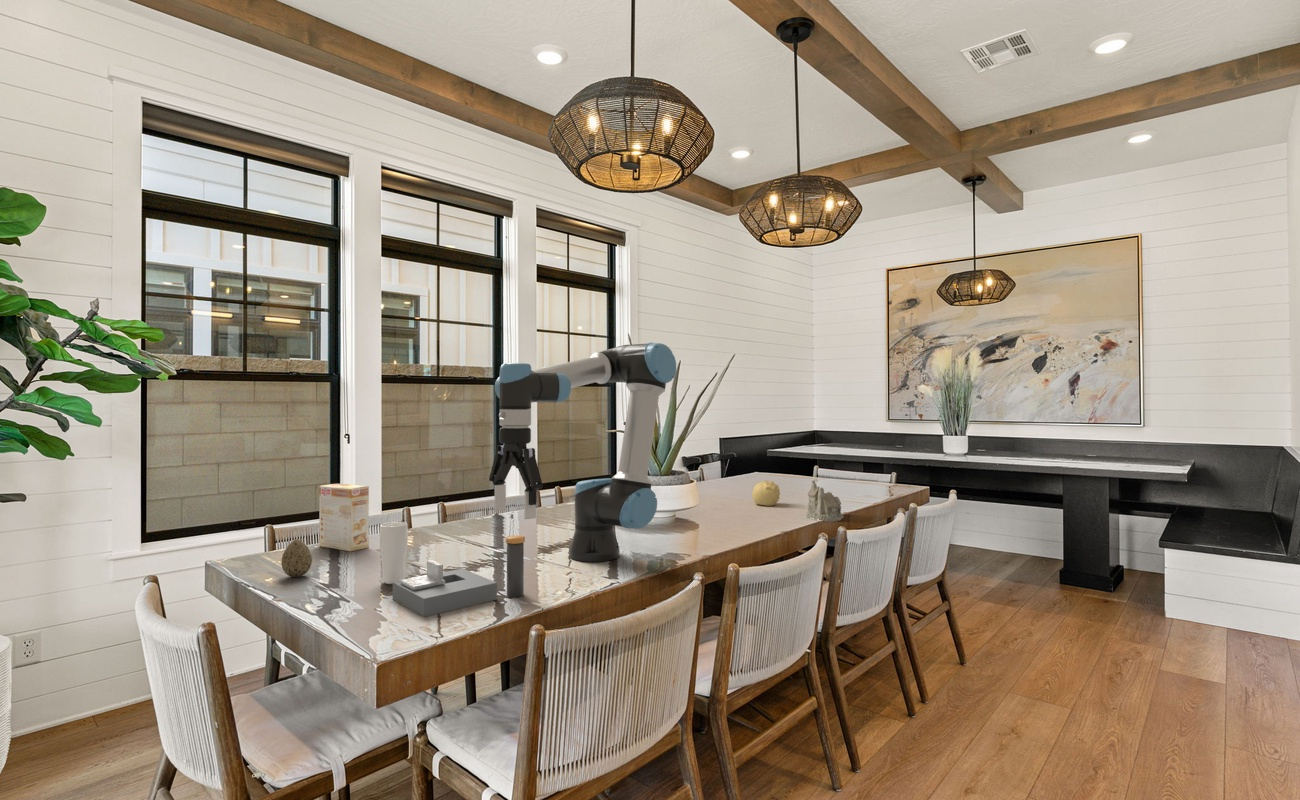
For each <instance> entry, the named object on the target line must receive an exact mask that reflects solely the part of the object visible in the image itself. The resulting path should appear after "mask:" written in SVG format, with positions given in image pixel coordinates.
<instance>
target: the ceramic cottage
mask: <svg viewBox="0 0 1300 800" xmlns="http://www.w3.org/2000/svg"><path fill="white" fill-rule="evenodd" d="M807 496H808V503H807V512H806V515H807V517H806V518H808V517H811V518H814V519H819V520H824V521H826V522H825V523H832V522H838V521H839V522H840V521H841V520H842V519H843V518H844V517H845V516H844V514H843V513H842V502H841V500H840V498H839V496H835V495H834V494H833V493H832V492H830V491H827V492H825V489H824V488H823V487H820V486H818V485H817V483H816V480H811V486H810V489H809V491H808V493H807Z"/></svg>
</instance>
